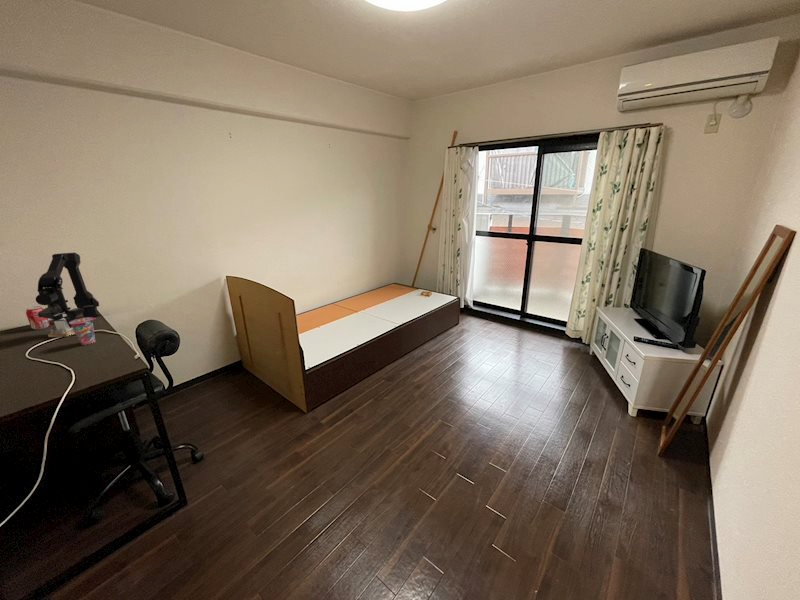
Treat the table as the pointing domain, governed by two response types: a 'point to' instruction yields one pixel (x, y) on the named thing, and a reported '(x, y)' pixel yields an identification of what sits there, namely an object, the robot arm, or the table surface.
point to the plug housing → (62, 325)
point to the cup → (84, 330)
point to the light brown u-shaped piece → (60, 333)
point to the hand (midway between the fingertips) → (66, 327)
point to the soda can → (36, 318)
